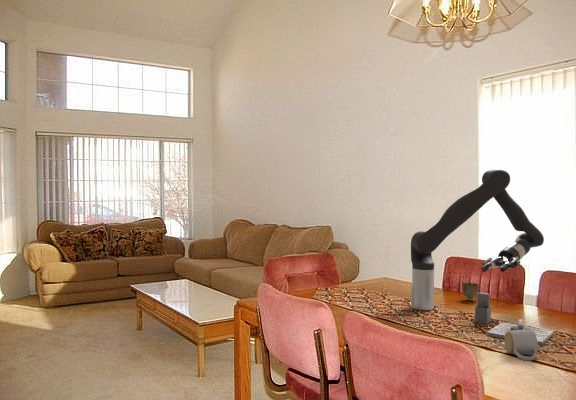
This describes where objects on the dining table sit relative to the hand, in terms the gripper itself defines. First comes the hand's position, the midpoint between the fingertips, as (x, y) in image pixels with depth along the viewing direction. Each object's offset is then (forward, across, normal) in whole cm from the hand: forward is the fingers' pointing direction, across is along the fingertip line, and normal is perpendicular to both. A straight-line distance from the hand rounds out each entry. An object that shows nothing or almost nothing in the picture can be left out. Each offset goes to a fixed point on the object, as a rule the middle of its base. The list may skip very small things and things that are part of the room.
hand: (491, 270), depth 210 cm
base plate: (+22, +19, +15) cm, 33 cm away
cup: (-13, -27, +22) cm, 37 cm away
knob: (+17, +1, +14) cm, 22 cm away
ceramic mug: (+43, +33, +10) cm, 55 cm away
